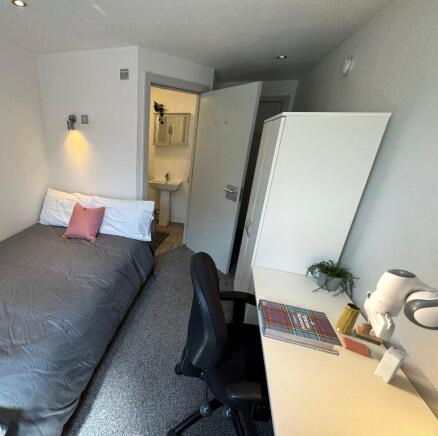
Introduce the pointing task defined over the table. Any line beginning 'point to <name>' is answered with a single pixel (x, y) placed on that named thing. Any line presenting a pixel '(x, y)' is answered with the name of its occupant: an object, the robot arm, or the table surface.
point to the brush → (366, 334)
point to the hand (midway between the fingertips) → (370, 331)
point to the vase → (348, 318)
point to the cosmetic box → (390, 364)
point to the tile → (356, 346)
